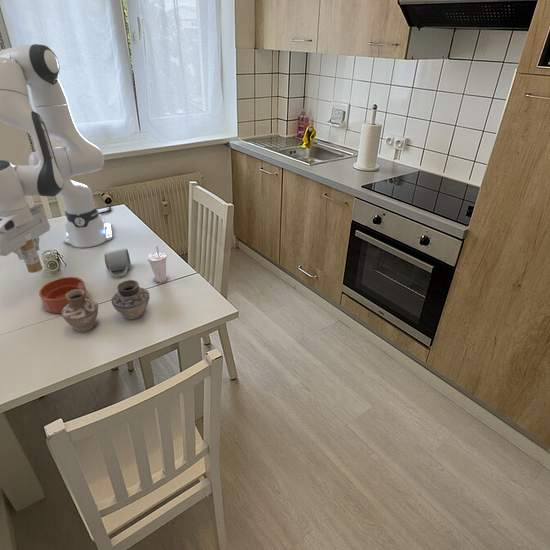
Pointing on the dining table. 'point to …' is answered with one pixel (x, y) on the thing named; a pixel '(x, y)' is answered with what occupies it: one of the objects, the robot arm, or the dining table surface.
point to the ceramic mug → (117, 261)
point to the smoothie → (158, 265)
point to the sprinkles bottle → (31, 255)
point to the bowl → (60, 293)
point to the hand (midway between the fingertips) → (29, 254)
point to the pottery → (124, 301)
